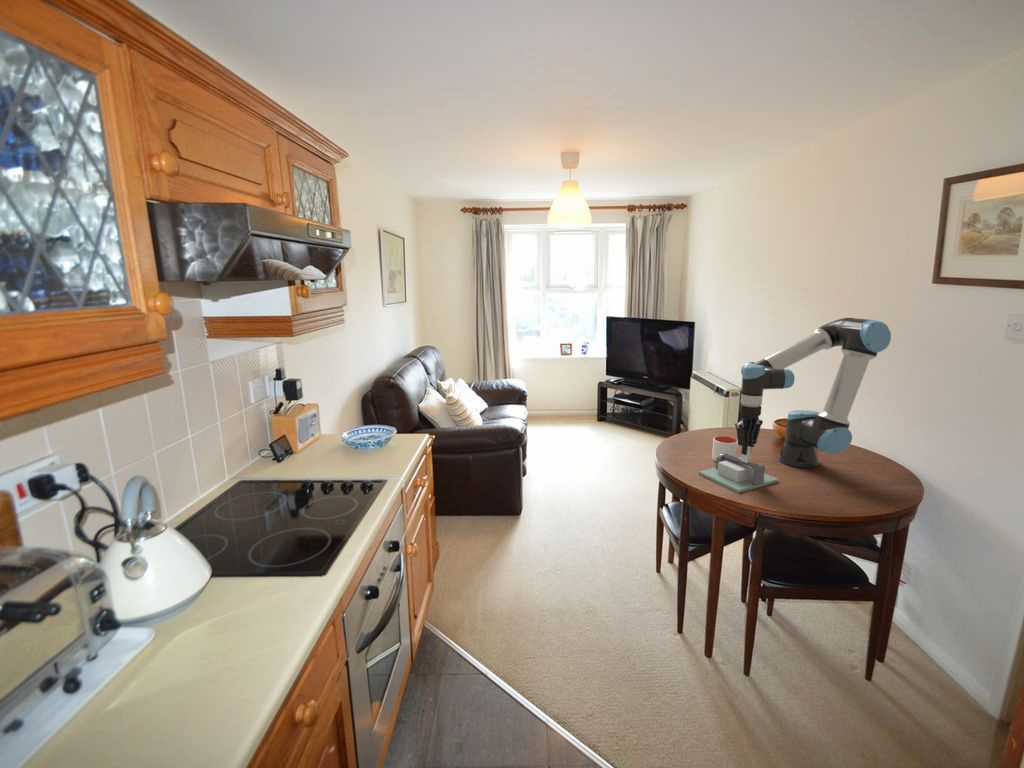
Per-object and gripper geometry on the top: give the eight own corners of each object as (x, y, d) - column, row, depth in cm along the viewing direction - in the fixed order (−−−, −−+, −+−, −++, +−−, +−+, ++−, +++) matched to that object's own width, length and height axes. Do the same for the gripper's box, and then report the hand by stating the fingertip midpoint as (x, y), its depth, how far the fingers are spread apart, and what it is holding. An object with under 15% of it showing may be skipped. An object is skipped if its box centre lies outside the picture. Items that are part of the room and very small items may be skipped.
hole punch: (736, 464, 211) (738, 446, 209) (778, 481, 194) (780, 461, 192) (698, 474, 202) (700, 455, 201) (738, 493, 185) (740, 472, 183)
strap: (725, 455, 205) (725, 452, 205) (760, 466, 190) (760, 463, 190) (718, 457, 203) (718, 454, 203) (752, 468, 188) (752, 465, 188)
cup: (737, 466, 210) (739, 444, 208) (712, 463, 213) (714, 442, 211) (734, 457, 219) (736, 436, 217) (711, 455, 222) (712, 435, 220)
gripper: (754, 400, 194) (749, 456, 199) (730, 404, 189) (726, 461, 194) (770, 404, 187) (765, 462, 192) (747, 408, 182) (741, 467, 187)
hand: (745, 461), depth 193 cm, fingers closed
